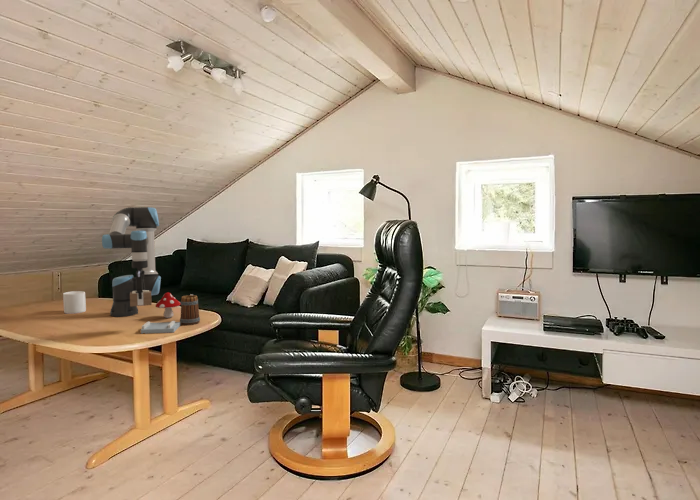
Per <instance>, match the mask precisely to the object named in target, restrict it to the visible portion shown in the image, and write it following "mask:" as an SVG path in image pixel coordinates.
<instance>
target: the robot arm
mask: <svg viewBox="0 0 700 500" xmlns="http://www.w3.org/2000/svg"><path fill="white" fill-rule="evenodd" d="M111 219H112V220H111V223H112V225H111V227H110V230H109V233H108V234H103V235H102V236H101V244H102V248H103V249H110V250H111V249H113V250H114V249H131V253H130V254H129V256H130V257H131V260H132V261H131V268H132V269H136V271H135V276H134V275H133V274H126V275H120V276H118V277H114V278H113V279H112V285H111V287H112V305H111V308H110V311H109V313H110V316H111V317H115V318H118V317H119V318H121V317H130V316H135V315H137V314H139V308H138V306H130V292H132V291H137V292H136V293H137V302H138V305H143V291H144V290H149V291H151V296H156V295H159V293H160V289H161V283H162V282H161V281H162V280H161V279H162V277H161V276H160V275H159V273H158V271H157V270H156V253H155V252H156V250H155V249H156V248H155V232H156V231H157V230H158V229H157V227H159V226H160V221H159V215H158V211H157V209H156V208H155V207H152V206H151V207H149V206H147V207H145V206H144V207H134V206H131V207H125V208H122V209H120V210H118V211H117V212H116V213H115V214H114V215H113V216H112V218H111ZM129 227H135V229H136V230H131V231H130V233H126V231H127V228H129Z"/></svg>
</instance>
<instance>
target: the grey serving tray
mask: <svg viewBox="0 0 700 500" xmlns="http://www.w3.org/2000/svg"><path fill="white" fill-rule="evenodd" d="M180 327H181V323H180V321H176V320H171V321H166V322H165V321H163V322H161V321H160V322H151V321H146V322H145V323H144V324H142V325H141V329H140V334H142V335H143V333H145V334H166V333H167V334H168V333H169V334H170V333H172V334H173V333H175V332H176V331H177V330H178V329H179V328H180Z"/></svg>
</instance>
